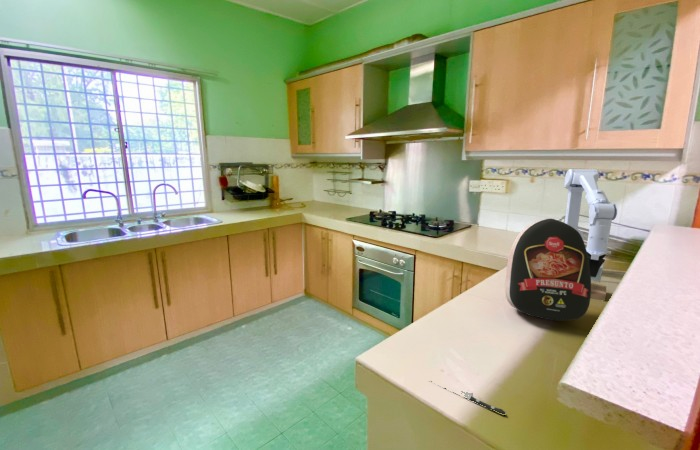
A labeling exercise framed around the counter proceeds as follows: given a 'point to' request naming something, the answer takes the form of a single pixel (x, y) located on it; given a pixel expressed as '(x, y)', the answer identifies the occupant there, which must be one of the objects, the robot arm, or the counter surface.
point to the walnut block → (598, 292)
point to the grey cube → (598, 275)
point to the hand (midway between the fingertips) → (592, 274)
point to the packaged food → (549, 272)
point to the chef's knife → (482, 402)
